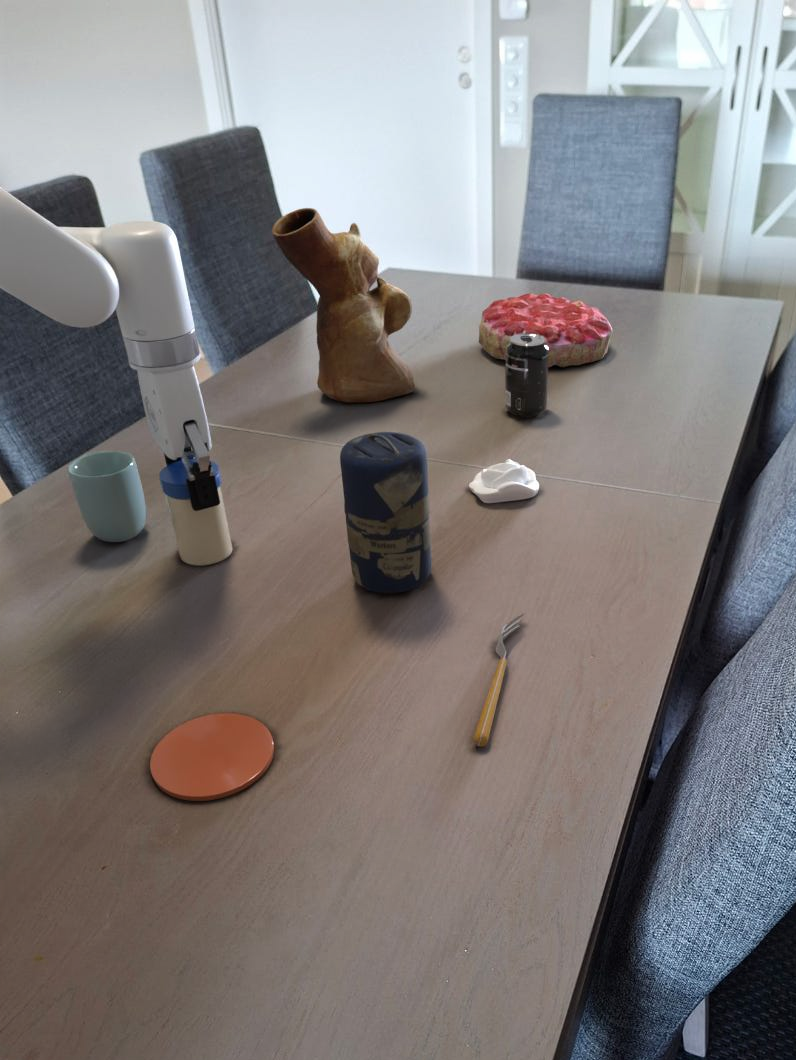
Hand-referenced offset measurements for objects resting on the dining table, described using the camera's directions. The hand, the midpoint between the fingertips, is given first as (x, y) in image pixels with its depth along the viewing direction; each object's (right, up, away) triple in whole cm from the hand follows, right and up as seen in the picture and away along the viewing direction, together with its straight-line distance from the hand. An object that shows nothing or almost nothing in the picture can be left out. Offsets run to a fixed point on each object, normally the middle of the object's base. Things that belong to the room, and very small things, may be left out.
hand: (194, 492), depth 108 cm
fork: (+36, -22, -16) cm, 45 cm away
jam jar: (0, -7, +5) cm, 8 cm away
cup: (-12, -4, +9) cm, 16 cm away
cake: (+46, +38, +66) cm, 89 cm away
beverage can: (+42, +20, +41) cm, 61 cm away
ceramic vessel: (+12, +24, +47) cm, 55 cm away
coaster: (+10, -28, -25) cm, 39 cm away
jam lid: (0, +2, -1) cm, 2 cm away
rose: (+37, +3, +18) cm, 42 cm away
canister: (+24, -10, 0) cm, 26 cm away
